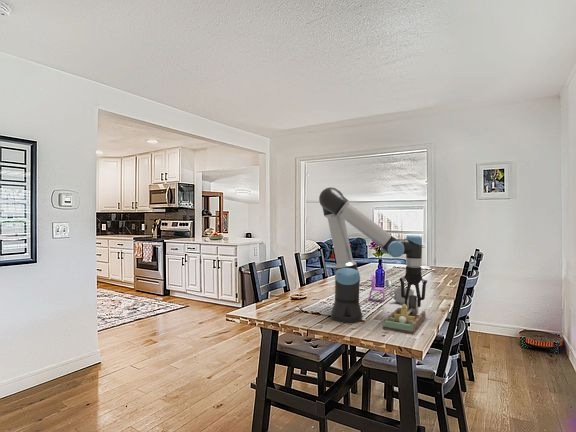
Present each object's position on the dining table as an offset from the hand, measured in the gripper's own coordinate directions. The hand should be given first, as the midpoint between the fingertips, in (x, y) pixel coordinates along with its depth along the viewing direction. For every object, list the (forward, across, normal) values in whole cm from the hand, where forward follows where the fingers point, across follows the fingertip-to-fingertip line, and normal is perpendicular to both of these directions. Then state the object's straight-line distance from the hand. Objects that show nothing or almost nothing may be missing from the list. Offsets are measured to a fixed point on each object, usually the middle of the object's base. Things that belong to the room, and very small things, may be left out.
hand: (412, 312), depth 186 cm
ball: (-2, 0, +21) cm, 21 cm away
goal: (0, 0, +26) cm, 26 cm away
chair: (+2, +25, -21) cm, 33 cm away
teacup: (+2, +11, -23) cm, 26 cm away
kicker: (0, 0, +9) cm, 9 cm away
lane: (+1, 0, +16) cm, 16 cm away
